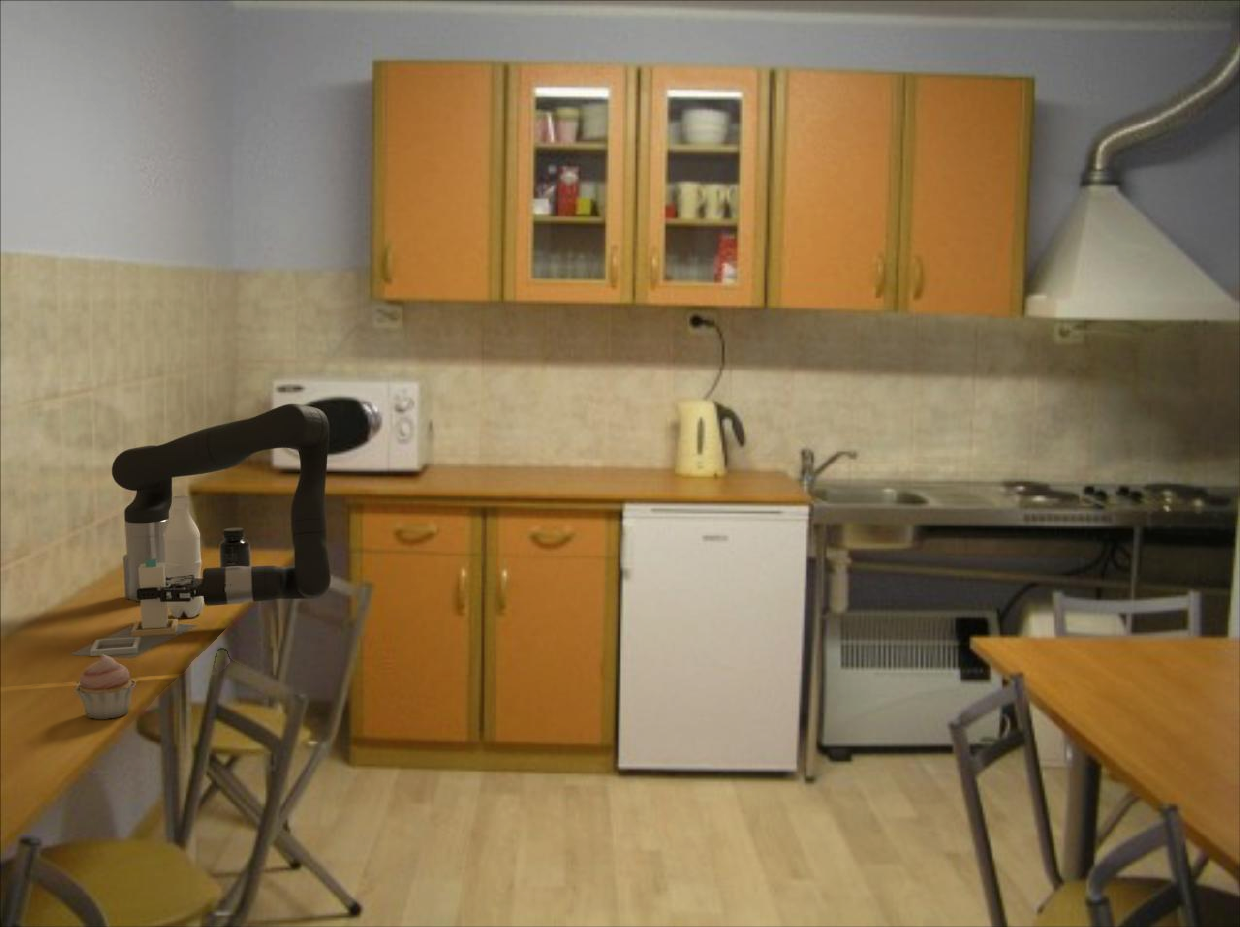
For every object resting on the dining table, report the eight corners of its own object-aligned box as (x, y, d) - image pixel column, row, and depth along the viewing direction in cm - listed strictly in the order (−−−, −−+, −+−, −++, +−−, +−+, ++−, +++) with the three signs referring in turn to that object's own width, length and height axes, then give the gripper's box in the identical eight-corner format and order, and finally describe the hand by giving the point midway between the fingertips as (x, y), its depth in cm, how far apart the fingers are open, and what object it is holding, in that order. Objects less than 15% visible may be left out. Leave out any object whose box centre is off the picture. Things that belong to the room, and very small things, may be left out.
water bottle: (193, 620, 284) (187, 500, 280) (161, 619, 285) (154, 499, 282) (210, 612, 291) (204, 494, 287) (179, 610, 292) (172, 493, 289)
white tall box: (142, 628, 271) (138, 563, 270) (144, 623, 276) (140, 558, 274) (166, 626, 272) (162, 562, 271) (168, 621, 277) (164, 557, 275)
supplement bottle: (257, 578, 322) (255, 528, 320) (235, 584, 316) (232, 532, 315) (237, 575, 326) (234, 525, 324) (214, 581, 320) (211, 530, 318)
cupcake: (90, 705, 229) (86, 646, 227) (146, 705, 228) (143, 646, 227) (66, 723, 219) (62, 662, 218) (124, 723, 219) (120, 662, 218)
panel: (68, 658, 257) (67, 649, 256) (140, 624, 281) (139, 617, 280) (132, 661, 254) (131, 652, 254) (199, 627, 278) (198, 619, 278)
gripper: (228, 559, 283) (140, 565, 279) (226, 574, 269) (133, 580, 265) (230, 595, 284) (142, 601, 280) (228, 612, 270) (135, 618, 266)
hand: (138, 591), depth 272 cm, fingers closed on white tall box, 4 cm apart
